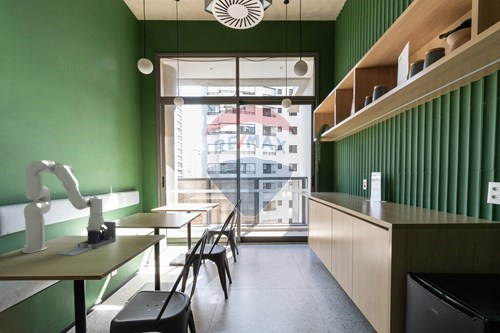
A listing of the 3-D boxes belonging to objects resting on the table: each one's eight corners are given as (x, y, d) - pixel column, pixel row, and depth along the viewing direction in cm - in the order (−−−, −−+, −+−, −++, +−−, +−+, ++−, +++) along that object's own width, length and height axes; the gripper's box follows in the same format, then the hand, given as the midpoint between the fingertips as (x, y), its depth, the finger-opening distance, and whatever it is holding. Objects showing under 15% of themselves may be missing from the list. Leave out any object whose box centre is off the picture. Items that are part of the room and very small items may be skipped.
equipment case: (76, 247, 167) (76, 226, 167) (99, 240, 184) (99, 221, 184) (94, 248, 163) (94, 227, 163) (115, 241, 180) (115, 221, 180)
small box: (96, 246, 168) (96, 231, 168) (86, 246, 168) (86, 231, 168) (105, 242, 178) (105, 227, 178) (96, 242, 178) (96, 227, 178)
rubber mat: (57, 254, 154) (57, 253, 154) (77, 247, 166) (77, 246, 166) (73, 255, 150) (73, 254, 150) (92, 249, 163) (92, 248, 163)
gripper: (81, 215, 172) (82, 240, 172) (101, 216, 167) (102, 241, 167) (91, 213, 179) (91, 237, 179) (110, 214, 175) (111, 238, 174)
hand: (96, 239), depth 173 cm, fingers open, 9 cm apart
